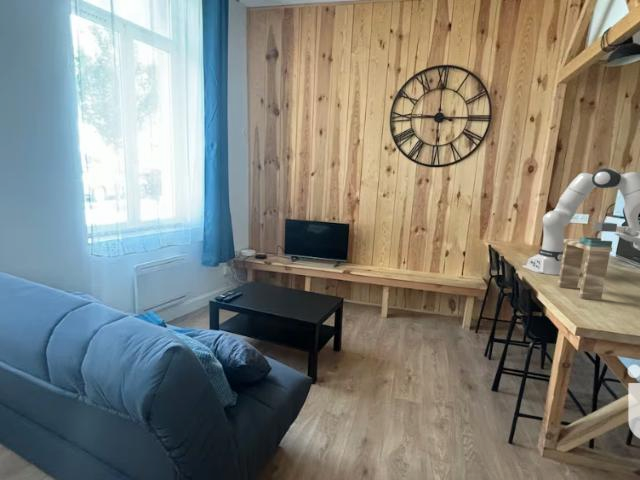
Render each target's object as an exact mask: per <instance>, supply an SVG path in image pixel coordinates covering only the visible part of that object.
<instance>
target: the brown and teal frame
mask: <svg viewBox="0 0 640 480" xmlns="http://www.w3.org/2000/svg"><path fill="white" fill-rule="evenodd" d="M612 246H613V241H612V240H602V238H599V237H597V238H596V237H584V236H583V237H580V238H579V239H573V238H571V239H570V238H567V239H566V238H565V239H564V246H563V256H562V261H561V269H560V275H558V282H557V287H558V288H561V289H562V288H563V289H576V290H577V289H578V286H579V280H580V275H581V269H582V264H583V258H584V252H585V250H586V256H585V262H584V269H583V273H582V278H581V279H582V280H581V284H580V289H579V294H578V299H581V300H593V301H602V297H603V291H604V287H605V280H606V276H607V270H608V265H609V260H610V256H611V252H612V251H613V247H612Z"/></svg>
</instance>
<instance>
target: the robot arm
mask: <svg viewBox="0 0 640 480" xmlns="http://www.w3.org/2000/svg"><path fill="white" fill-rule="evenodd" d="M595 188H599V189H605V190H606V189H612V188H617V189H618V190H619V192H620V193H621V196H622V197H623V199H624V207H623V208H622V214H623V218H624V221H625V225H626V227H634V230H632V229H630V228H625V229H624V231H626V232H614V235H615V236H617V237H619V238H621V239H623V240H624V241H627V242H629V243H630V246H631V248H632V249H634V250H635V251H638V252H640V222H639V214H640V173H638V172H637V171H630V172H626V173H622V174H621V172H620V171H618V170H616V169H614V168H612V167H611V168H605V167H604V168H600V169H597V170H596V171H595V172H594V173H589V172H581V173H579V174H578V175H577V176H575V178H574V179H573V180H572V181H571V182H570V183H569V185H568V186H567V188H566V189H565V190H564V192H563V193H562V195H561V196H560V197H559V199H558V202H557V204H556V206H555V208H554V209H553V210H550V211H548V212H546V213H545V214H544V215H543V217H542V219H541V221H542V226H543V227H542V229H543V237H542V245H541V248H539V249H538V248H537V252H538V253H537V254H535V255H534V256H531V257H529V258H528V260H527V263H526V264H523V265H522V268H525V269H527V270H529V271H532V272H535V273H537V274H545V275H546V274H547V275H554V276H555V275H556V276H559V275H560V269H561V263H562V256H563V250H564V244H565V243H564V239H566V238H565V227H566V226H568V225H569V224H570V222H571V221H572V219H573V218H574V216H575V214H576V213H577V211H578V209H579V207H580V206H581V205H582V204H583V202H584V201H585V200H586V199H587V197H588V195H589V194H590V193H591V192H592V191H593V190H594V189H595Z"/></svg>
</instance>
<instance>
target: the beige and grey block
mask: <svg viewBox="0 0 640 480" xmlns="http://www.w3.org/2000/svg"><path fill="white" fill-rule="evenodd" d="M625 228H630V229H632V230H634V227H627V226H623V225H621V226H620V225H618V223H614V222H604V221H603V222H602V221H599V222H598V221H595V224H594V229H593V230H594V231H598V232H609V233H615V232H626V231H624V229H625Z"/></svg>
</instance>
